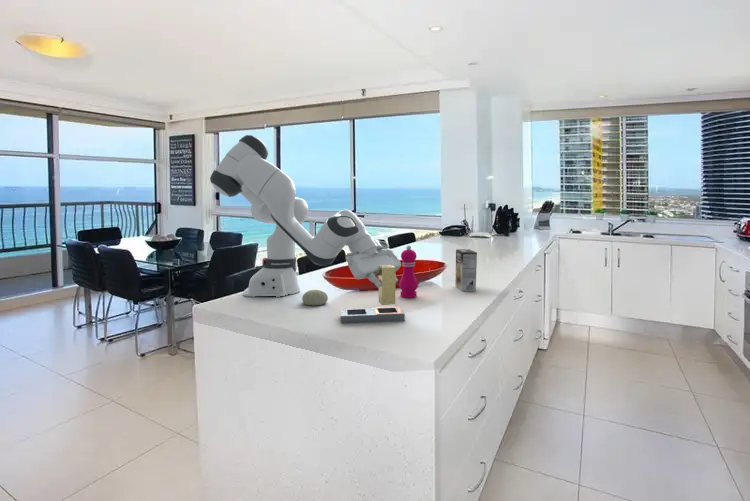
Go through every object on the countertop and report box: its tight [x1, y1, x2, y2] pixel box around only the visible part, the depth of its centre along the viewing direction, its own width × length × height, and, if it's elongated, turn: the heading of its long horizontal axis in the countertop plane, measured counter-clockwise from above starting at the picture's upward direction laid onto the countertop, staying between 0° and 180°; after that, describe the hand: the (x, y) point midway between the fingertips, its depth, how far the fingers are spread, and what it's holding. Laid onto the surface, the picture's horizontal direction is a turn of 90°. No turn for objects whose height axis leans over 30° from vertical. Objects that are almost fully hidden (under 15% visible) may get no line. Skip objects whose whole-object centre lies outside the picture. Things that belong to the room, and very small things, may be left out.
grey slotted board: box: [340, 306, 406, 324], centre depth 141 cm, size 20×8×3 cm, turn 96°
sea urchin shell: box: [301, 289, 329, 306], centre depth 160 cm, size 9×8×8 cm
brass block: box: [378, 265, 396, 306], centre depth 139 cm, size 4×4×12 cm
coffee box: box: [455, 248, 478, 292], centre depth 181 cm, size 9×6×16 cm
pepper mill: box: [398, 245, 419, 299], centre depth 169 cm, size 7×7×20 cm
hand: (388, 283), depth 139 cm, fingers closed on brass block, 6 cm apart
